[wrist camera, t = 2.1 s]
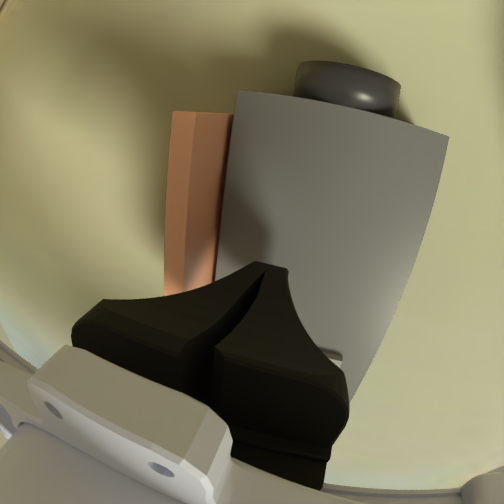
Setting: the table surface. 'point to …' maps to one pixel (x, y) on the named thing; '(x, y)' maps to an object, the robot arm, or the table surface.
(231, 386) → the robot arm
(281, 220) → the camera housing
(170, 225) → the side door
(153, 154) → the table surface
